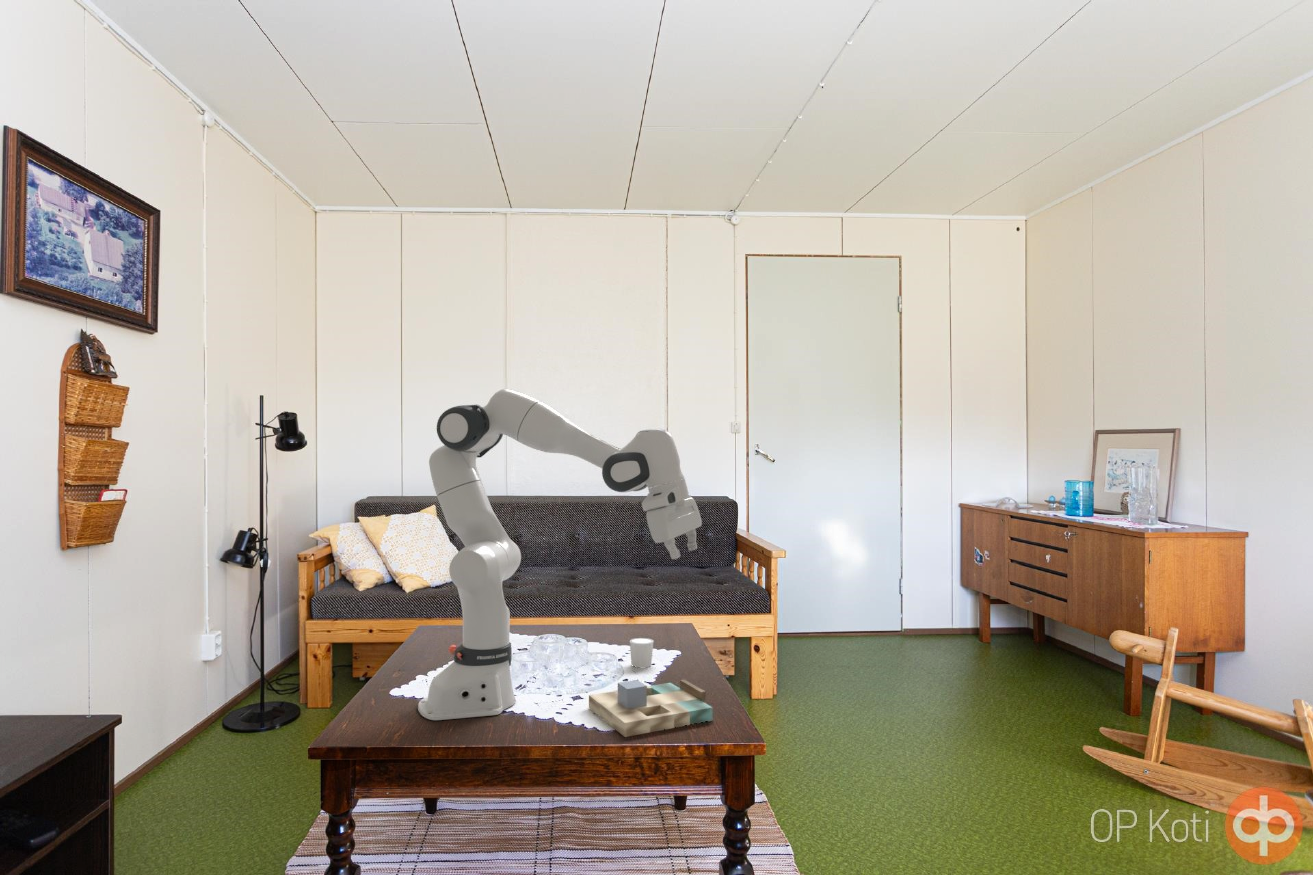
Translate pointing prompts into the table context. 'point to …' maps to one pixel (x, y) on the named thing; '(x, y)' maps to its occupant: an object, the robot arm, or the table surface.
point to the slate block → (632, 694)
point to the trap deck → (654, 709)
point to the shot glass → (641, 652)
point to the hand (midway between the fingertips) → (685, 554)
